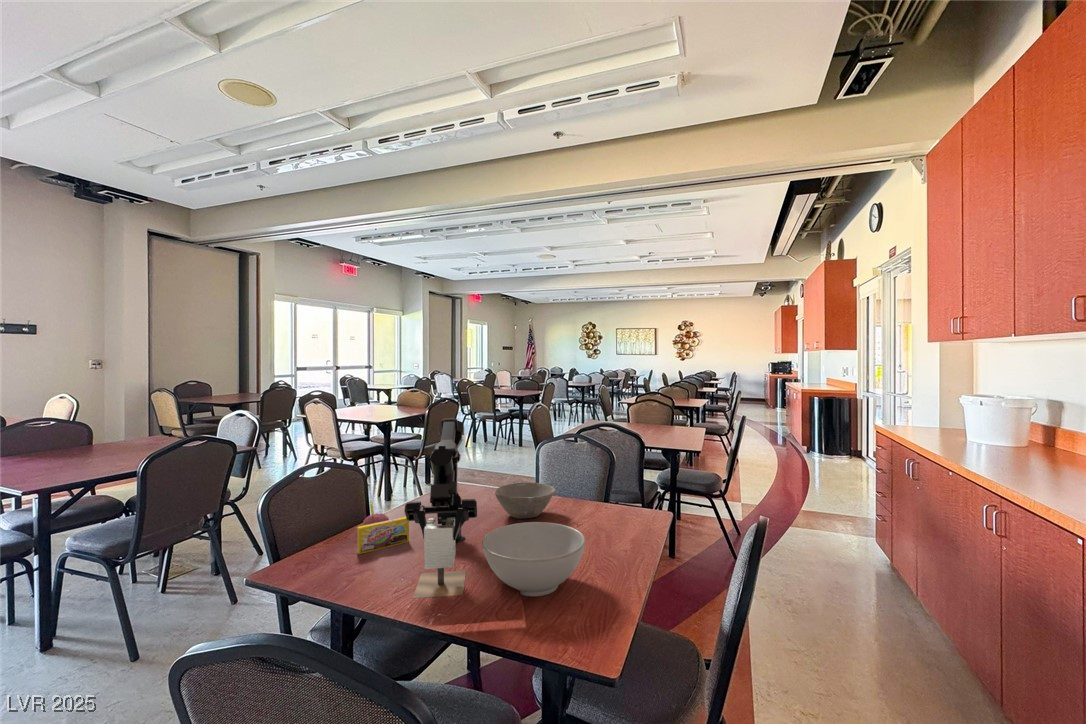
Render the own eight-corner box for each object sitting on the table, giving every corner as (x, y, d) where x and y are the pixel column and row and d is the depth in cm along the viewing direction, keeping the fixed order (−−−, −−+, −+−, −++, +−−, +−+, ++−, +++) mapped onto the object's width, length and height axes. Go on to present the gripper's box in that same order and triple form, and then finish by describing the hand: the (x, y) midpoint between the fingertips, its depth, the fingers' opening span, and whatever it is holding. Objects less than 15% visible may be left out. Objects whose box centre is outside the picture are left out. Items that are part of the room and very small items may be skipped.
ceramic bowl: (487, 512, 186) (487, 486, 186) (540, 504, 196) (540, 479, 196) (507, 529, 166) (506, 500, 166) (565, 519, 176) (565, 492, 176)
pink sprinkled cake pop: (372, 541, 157) (371, 505, 157) (357, 536, 162) (357, 500, 162) (394, 533, 163) (393, 499, 164) (379, 529, 169) (379, 495, 169)
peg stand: (421, 577, 129) (421, 554, 129) (465, 574, 130) (465, 552, 130) (412, 603, 115) (412, 577, 115) (462, 599, 116) (462, 574, 116)
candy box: (359, 555, 145) (358, 528, 145) (356, 553, 147) (356, 526, 147) (409, 542, 155) (409, 517, 156) (407, 540, 157) (406, 515, 157)
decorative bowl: (510, 558, 141) (509, 517, 141) (597, 571, 131) (597, 527, 131) (462, 600, 116) (462, 551, 116) (567, 620, 106) (566, 566, 106)
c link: (428, 556, 126) (428, 518, 126) (455, 554, 127) (454, 517, 127) (424, 569, 118) (424, 529, 118) (453, 567, 119) (452, 527, 119)
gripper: (405, 471, 126) (397, 527, 115) (476, 469, 128) (475, 523, 117) (410, 493, 133) (404, 547, 122) (477, 490, 135) (476, 543, 124)
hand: (439, 540), depth 121 cm, fingers closed on c link, 7 cm apart
